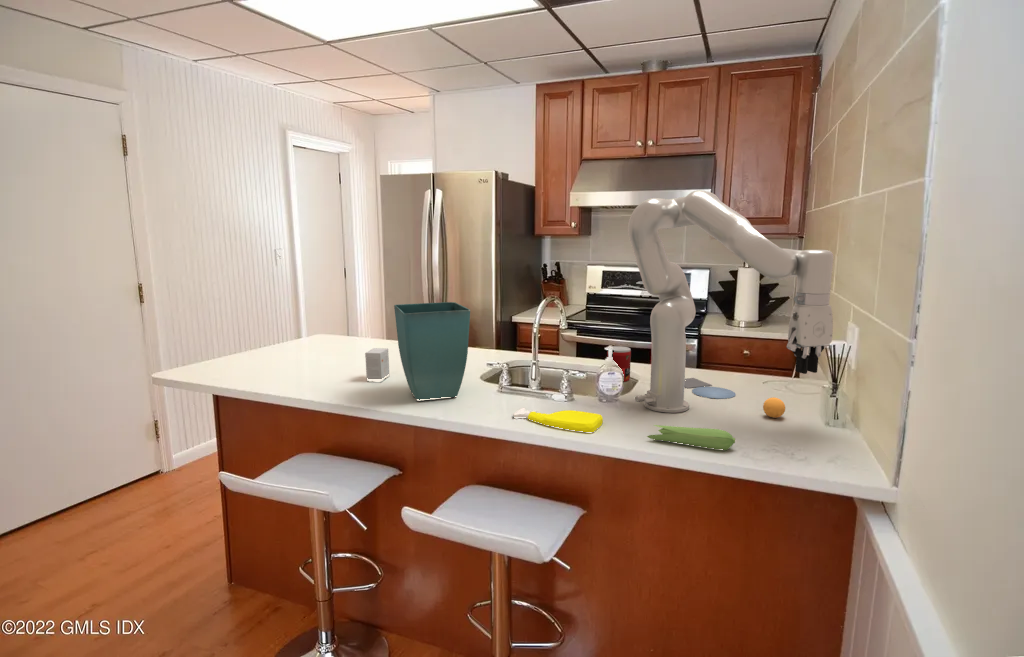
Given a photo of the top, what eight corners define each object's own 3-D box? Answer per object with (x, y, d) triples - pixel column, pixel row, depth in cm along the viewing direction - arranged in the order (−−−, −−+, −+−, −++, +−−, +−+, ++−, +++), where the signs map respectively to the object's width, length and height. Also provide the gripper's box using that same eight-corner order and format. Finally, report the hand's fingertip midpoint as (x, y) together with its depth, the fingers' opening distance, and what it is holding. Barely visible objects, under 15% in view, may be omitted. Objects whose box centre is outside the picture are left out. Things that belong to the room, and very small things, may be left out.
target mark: (709, 400, 167) (709, 400, 167) (683, 389, 179) (683, 388, 179) (744, 396, 171) (744, 395, 171) (717, 385, 183) (717, 385, 183)
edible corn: (734, 438, 126) (735, 426, 129) (645, 428, 134) (649, 418, 137) (734, 456, 128) (735, 444, 131) (646, 446, 136) (650, 435, 140)
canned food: (630, 382, 188) (630, 351, 186) (606, 381, 189) (606, 350, 187) (629, 377, 195) (630, 346, 193) (606, 376, 197) (607, 345, 195)
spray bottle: (591, 437, 140) (506, 423, 151) (605, 423, 149) (524, 412, 160) (591, 425, 139) (506, 413, 150) (605, 413, 149) (524, 402, 160)
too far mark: (686, 388, 180) (686, 388, 180) (668, 380, 189) (668, 380, 189) (712, 385, 183) (712, 385, 183) (693, 378, 192) (693, 377, 192)
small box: (375, 376, 199) (373, 347, 197) (390, 376, 198) (388, 348, 197) (366, 382, 191) (364, 352, 190) (381, 382, 191) (380, 352, 189)
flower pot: (473, 400, 169) (471, 309, 164) (407, 408, 163) (403, 312, 158) (456, 384, 188) (454, 301, 183) (397, 390, 181) (393, 304, 176)
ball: (772, 421, 148) (774, 401, 147) (757, 415, 153) (759, 396, 152) (789, 419, 150) (790, 399, 149) (773, 413, 155) (775, 394, 154)
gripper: (798, 303, 131) (792, 378, 134) (850, 300, 136) (843, 372, 139) (774, 299, 138) (769, 371, 141) (824, 296, 143) (818, 366, 146)
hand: (806, 371), depth 140 cm, fingers open, 2 cm apart
